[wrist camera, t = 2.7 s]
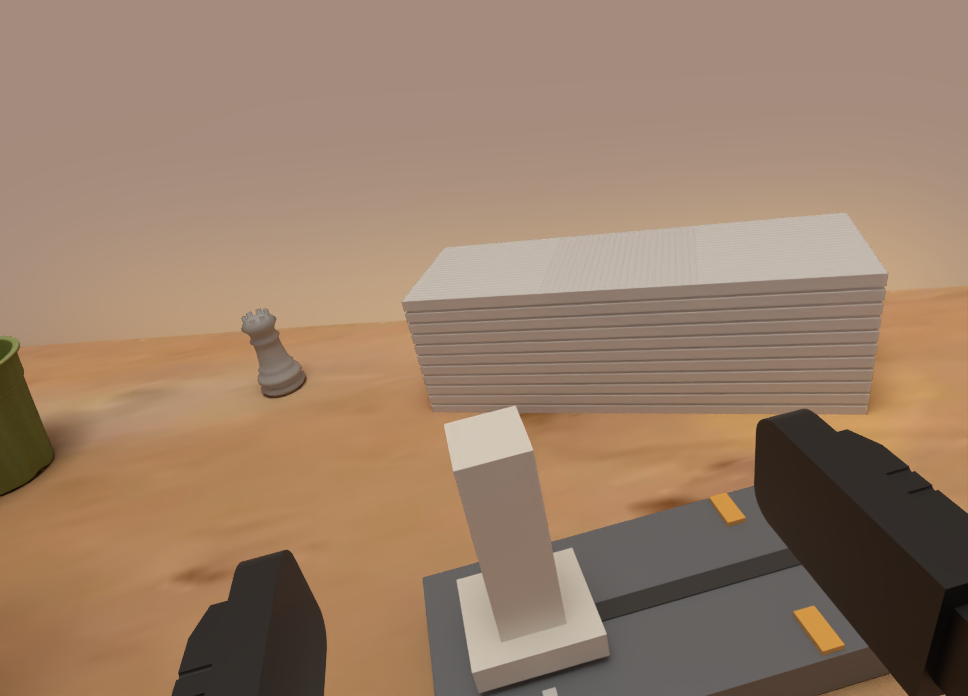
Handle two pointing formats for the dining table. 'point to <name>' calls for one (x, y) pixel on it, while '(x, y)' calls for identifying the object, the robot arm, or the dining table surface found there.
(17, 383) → the plant pot
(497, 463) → the fader tab
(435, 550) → the dining table surface
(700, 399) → the stack of papers
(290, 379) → the rook chess piece
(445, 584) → the fader console
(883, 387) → the dining table surface
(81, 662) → the dining table surface
